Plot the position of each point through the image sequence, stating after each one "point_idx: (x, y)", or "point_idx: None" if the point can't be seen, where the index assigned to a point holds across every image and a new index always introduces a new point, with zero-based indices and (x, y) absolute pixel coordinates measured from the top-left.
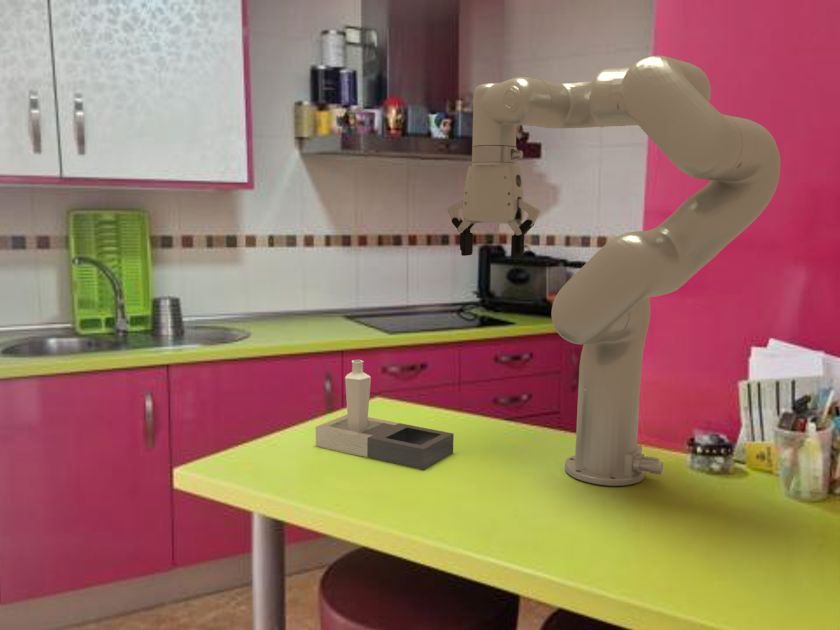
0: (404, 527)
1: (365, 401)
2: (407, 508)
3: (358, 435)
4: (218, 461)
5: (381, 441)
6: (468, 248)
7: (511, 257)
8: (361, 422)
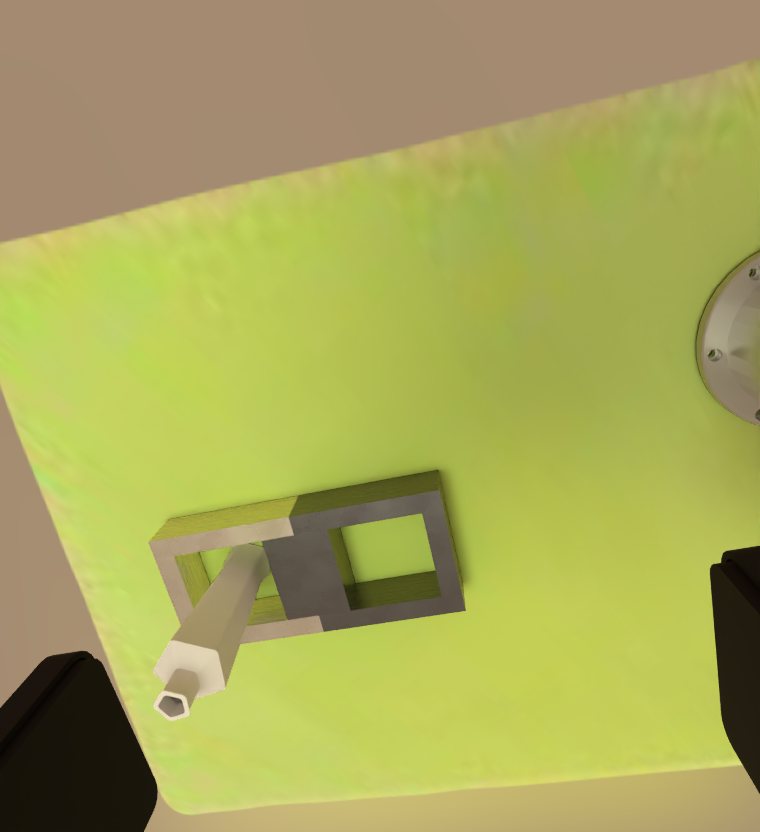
0: (605, 760)
1: (238, 622)
2: (561, 714)
3: (299, 633)
4: (173, 765)
5: (359, 625)
6: (95, 798)
7: (724, 722)
8: (252, 599)
